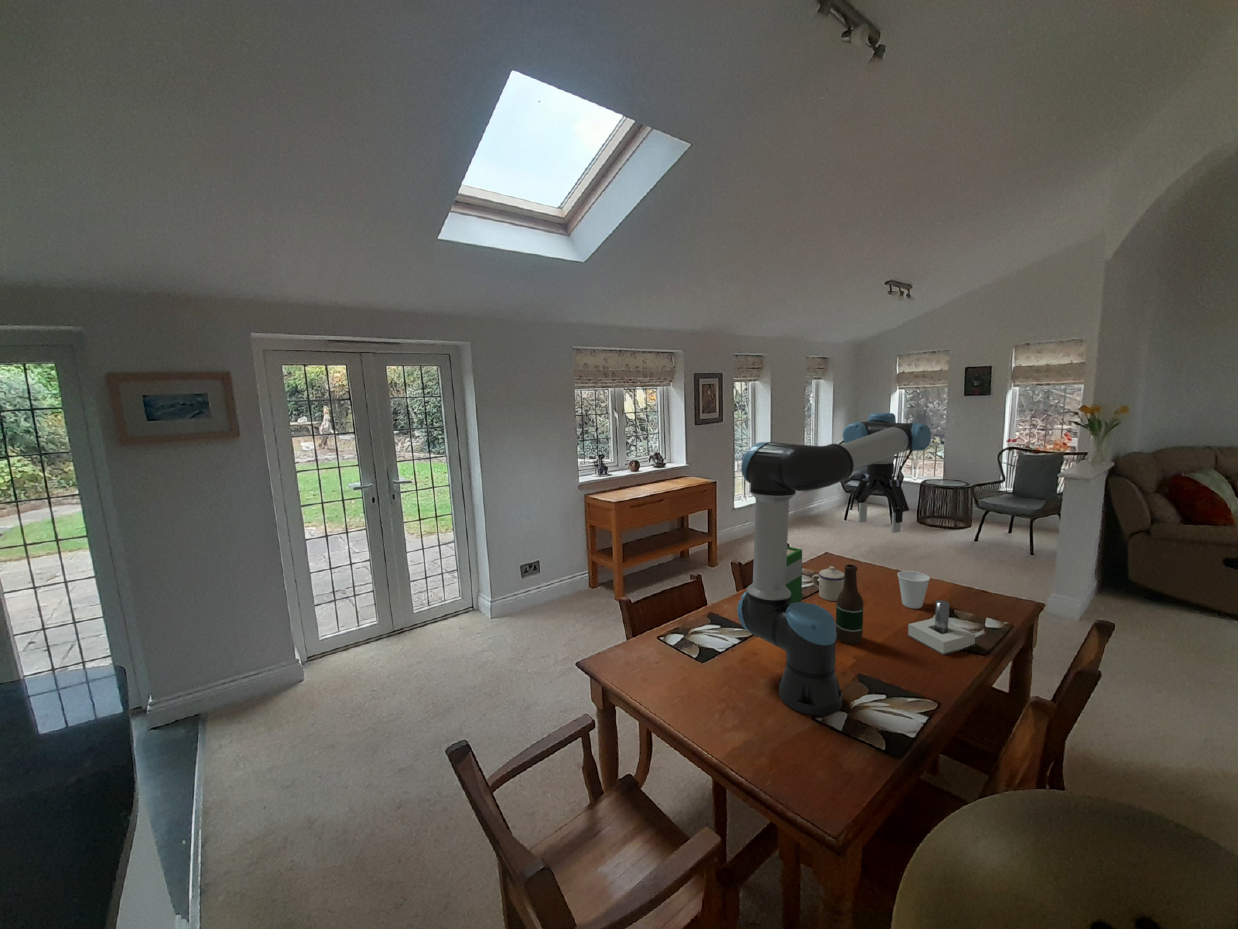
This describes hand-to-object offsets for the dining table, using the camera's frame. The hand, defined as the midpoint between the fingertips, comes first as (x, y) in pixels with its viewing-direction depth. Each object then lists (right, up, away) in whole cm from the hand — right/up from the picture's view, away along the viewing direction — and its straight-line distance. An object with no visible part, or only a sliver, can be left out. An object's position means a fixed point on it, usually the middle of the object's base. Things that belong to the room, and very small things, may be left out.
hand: (878, 526), depth 159 cm
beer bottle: (-12, -35, -5) cm, 37 cm away
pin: (+14, -33, -9) cm, 37 cm away
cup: (+20, -30, +16) cm, 39 cm away
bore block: (+14, -34, -9) cm, 38 cm away
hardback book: (-30, -34, +8) cm, 45 cm away
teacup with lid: (-5, -30, +27) cm, 40 cm away
